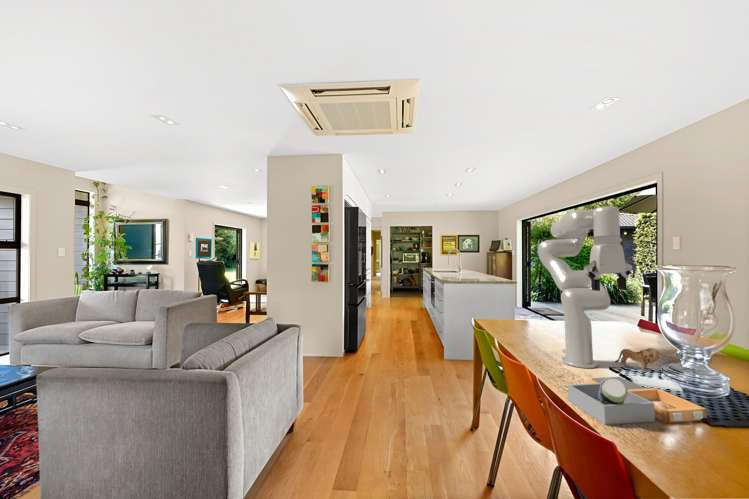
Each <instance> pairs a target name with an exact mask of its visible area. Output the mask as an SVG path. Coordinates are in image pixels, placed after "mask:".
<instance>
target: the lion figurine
mask: <svg viewBox="0 0 749 499" xmlns="http://www.w3.org/2000/svg"><path fill="white" fill-rule="evenodd" d="M628 359H630V360H632V361H634V362H637V363H641V367H642V371H643V372H645V373H646V372H648V371H649V368H648V367H647V366H648V365H652V364H653V363H655V362H658V361H659V360H660V353H659V350H658V349H656V348H655V347H654V348H653V347H648V348H645V349H643V350H639V351H633V350H631V349H629V348H624V349H622V350H621V351H620V353H619V356H618V359H616V360H615V361H614V363H618V362H619V361H620V363H621V364H623V365H624V367H625V368H629V367H630V365H628V364H627V360H628Z"/></svg>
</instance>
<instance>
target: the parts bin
mask: <svg viewBox="0 0 749 499" xmlns="http://www.w3.org/2000/svg"><path fill="white" fill-rule="evenodd" d="M600 384H601V383H594V384H591V383H581V384H580V383H578V384H568V385H567V396H568V398H567V399H568V402H569V403H571V404H572V405H574V406H576V407H577V408H578V409H580V410H582V411H583V412H585V413H586V414H587V415H589V416H591V417H592V418H594V419H595V420H597V421H598V422H600V424H603V425H604V426H611V425H625V424H626V425H627V424H629V425H630V424H642V423H655V422H656V417H655V410H654V404H655V403H654V402H653V401H652V400H647V399H644V398H642V397H640V396H638V395H636V394H634V393H632V392H630V391H628V390H627V391H628V394H627V397H626V399H625V401H624V403H623V404H611V405H604V404H602V403H601V402H600V401H599V399H598V392H599V388H600Z"/></svg>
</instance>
